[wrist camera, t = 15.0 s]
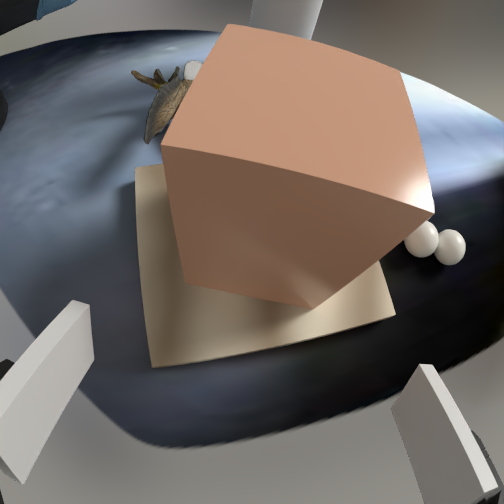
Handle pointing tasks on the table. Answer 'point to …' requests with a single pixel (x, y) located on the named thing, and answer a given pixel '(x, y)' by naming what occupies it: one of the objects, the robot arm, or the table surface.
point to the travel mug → (286, 16)
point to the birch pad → (228, 297)
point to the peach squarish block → (291, 168)
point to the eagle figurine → (167, 96)
